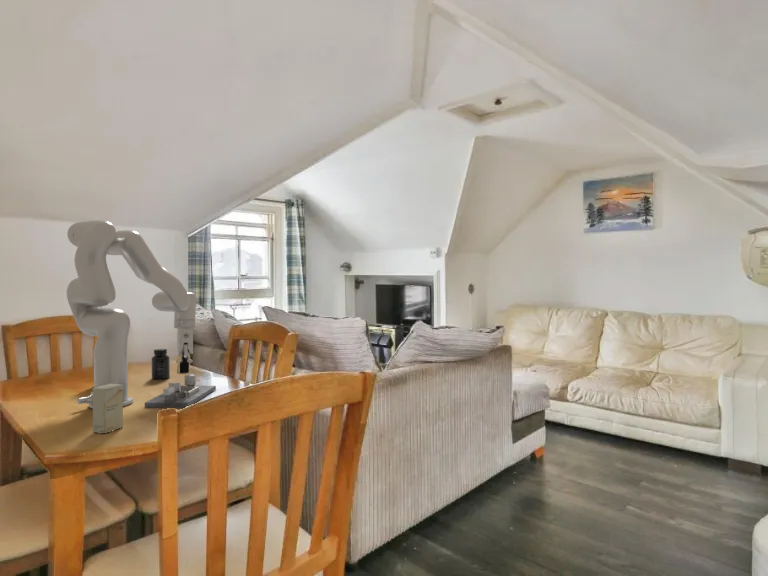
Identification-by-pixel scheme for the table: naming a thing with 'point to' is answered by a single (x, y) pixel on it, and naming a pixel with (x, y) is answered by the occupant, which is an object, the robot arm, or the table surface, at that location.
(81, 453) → the table surface
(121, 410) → the skincare box
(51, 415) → the table surface
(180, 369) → the robot arm
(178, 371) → the universal joint block
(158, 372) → the supplement bottle
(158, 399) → the shaft bench
